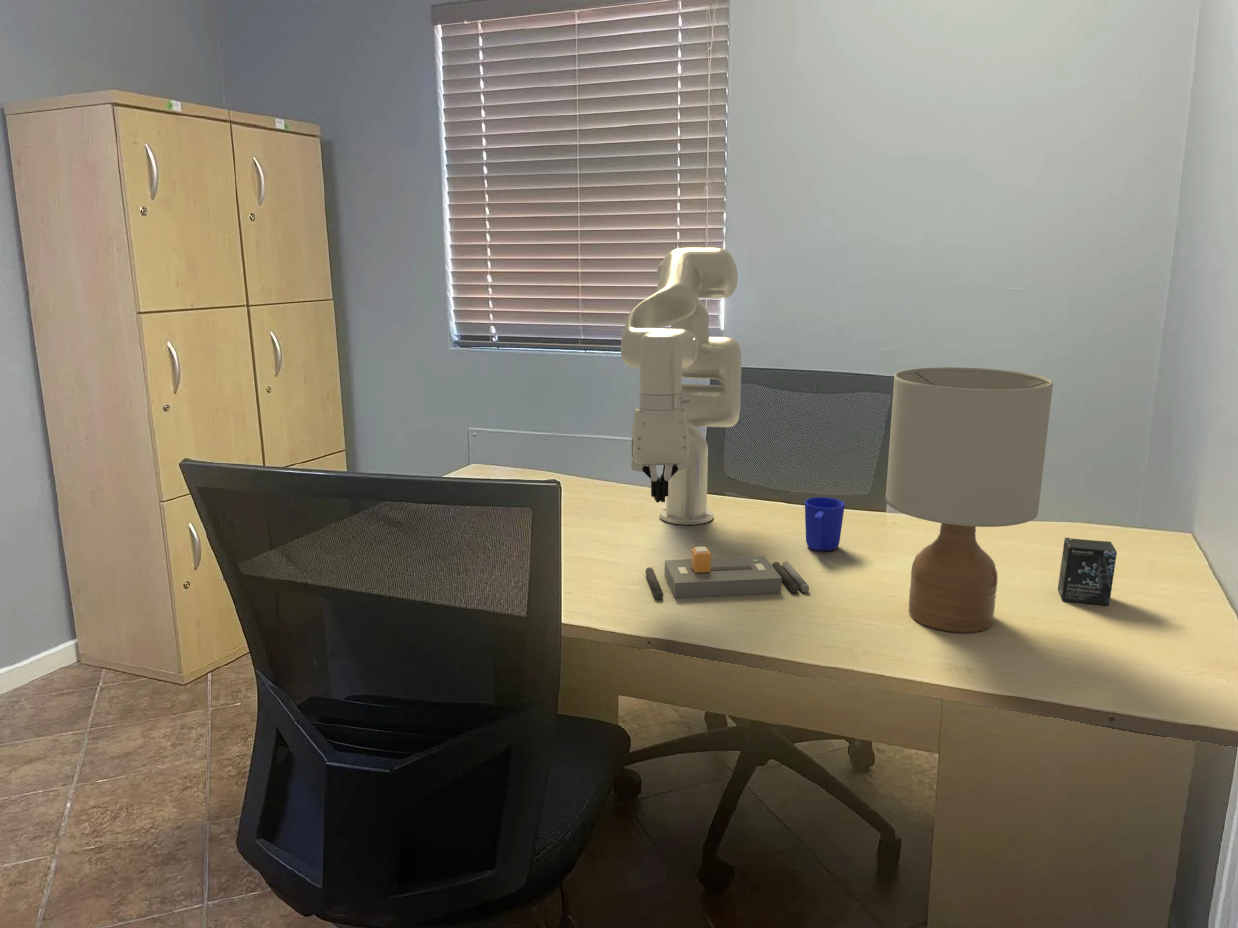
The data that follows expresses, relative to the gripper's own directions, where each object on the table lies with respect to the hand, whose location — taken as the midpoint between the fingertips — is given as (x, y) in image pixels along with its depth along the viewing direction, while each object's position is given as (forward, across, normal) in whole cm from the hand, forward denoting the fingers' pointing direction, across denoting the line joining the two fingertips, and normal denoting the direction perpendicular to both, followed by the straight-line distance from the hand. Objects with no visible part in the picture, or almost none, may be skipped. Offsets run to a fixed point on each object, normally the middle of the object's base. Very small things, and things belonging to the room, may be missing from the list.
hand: (659, 500), depth 167 cm
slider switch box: (+17, -12, -1) cm, 21 cm away
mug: (+17, -37, -17) cm, 44 cm away
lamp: (+18, -48, +19) cm, 55 cm away
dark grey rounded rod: (+17, +1, -1) cm, 17 cm away
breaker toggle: (+14, -8, -1) cm, 16 cm away
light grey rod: (+17, -27, -1) cm, 32 cm away
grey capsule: (+17, -25, -1) cm, 30 cm away
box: (+17, -76, +14) cm, 79 cm away
